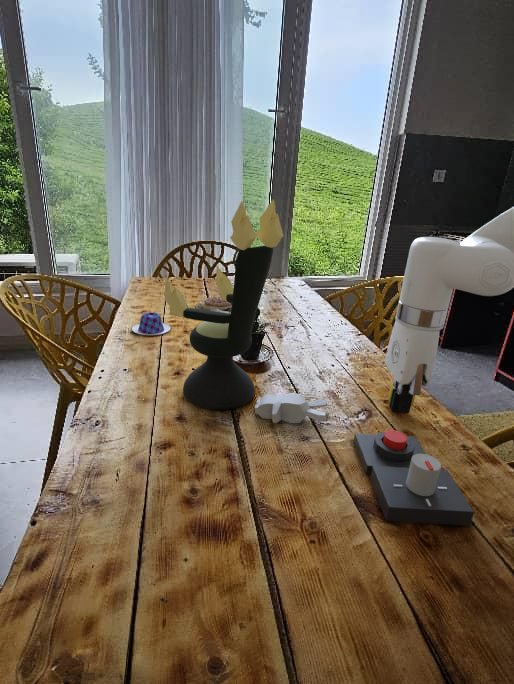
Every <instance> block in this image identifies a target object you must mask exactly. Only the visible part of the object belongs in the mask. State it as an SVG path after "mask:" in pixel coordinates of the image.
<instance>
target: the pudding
mask: <svg viewBox="0 0 514 684" xmlns="http://www.w3.org/2000/svg"><path fill="white" fill-rule="evenodd" d="M131 330H132V332H133V333H135V334H138V335H142V336H158V335H163V334H166V333H168V332H169V331H170V330H171V326H170V325H169V324H167V323H165V322H163V320H162V317H161V314H160V313H158V312H157V313H156V312H153V311H152V312H150V311H149V312H144V313H142V315H141V316H140V320H139V323H137V324H134V325H133V326H132V327H131Z"/></svg>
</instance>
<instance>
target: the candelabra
mask: <svg viewBox="0 0 514 684" xmlns="http://www.w3.org/2000/svg"><path fill="white" fill-rule="evenodd" d="M258 220H259V224H260V227H259V229H258V230H257V231H256V232H255V230H254V228H253V225H252V224H253V223H252V222H251V220H250V217H249V216H248V215H247V213H246V207H245V205H244V202H243V200H241V201H240V203H239V205H238V207H237V209H236V211H235V213H234V215H233V217H232V220H231V227H232V235H230V236H229V238H230V241H231V242H232V244H234V246H235V247H236V248H237V249H239V250H238V252H237V254H236V258H235V266H234V267H235V269H234V280H233V283H232V281H231V279H229V277H227V275H226V274H225V273H224V272H223V271H222V270H221V268H220V267H219V266H218V265H216V274H215V275H216V277H215V285H216V287H217V289H218V292H219V297H220V298H221V299H223V300H226V301H227V302H229V303H231V304H232V308H230V312H229V313H223V312H216V311H210V310H203V309H196V308H195V307H189V306H188V303H187V301H186V299H185V297H184V294H183V292H181V291H180V289H178V288H177V286H173V284H172V283H171V282H170V280H169V279H167V278H165V280H164V301H165V302H166V304H167V305H168V306H169V315H170V316H173V317H179V318H181V317H183V318H184V319H187V320H192V321H193V320H194V321H200V322H201V323H199V324H198V325H196V326H195V327H194V328H193V329H192V330H191V332H190V334H189V343H190V345H191V348H193V350H195V351H196V352H197V353H199V354H201V355H204V356H206V360H205V361H204V362H203V363H202V364H201V365H199V366H197V367H196V368H195V369H194V370H193V371H192V372H191V373H189V375H188V376H187V377H186V378H185V380H184V383H183V386H182V392H183V395H184V396H185V398H186V399H187V400H188V401H189V402H191V403H192V404H193V405H195V406H198V407H200V408H202V409H207V410H211V411H227V410H235V409H237V408H241V407H243V406H244V405H246V404H247V403H249V402H250V401H251V400H252V399H253V398H254V396H255V393H256V390H255V384H254V382H253V380H252V378H251V377H250V375H249V374H248V373H247V372H246V371H245V370H244V369H243V368H241V367H240V366H239V365H238V364H236V363H235V361H234V357H238V356H240V355H242V354H244V353H246V352H247V351H248V350H249V349H250V347H251V346H252V343H253V337H252V333H253V329H254V324H255V321H256V316H257V311H258V308H259V305H260V301H261V298H262V295H263V290H264V288H265V284H266V281H267V278H268V275H269V271H270V268H271V263H272V260H273V254H274V248H276V247H277V246H278V244H279V243H280V242H281V240H283V238H284V237H285V236H284V231H283V227H282V224H281V221H280V217H279V213H276V203H275V200H274V199H272V200H271V201H270V203H269V204H268V206H267V207H266V208H265V211H264V212H263V213H262V214H261V215H260V217H259V219H258ZM256 239H258V240H259V242H260V243H261V244H263V245H260V246H253V243H254V241H255V240H256ZM252 246H253V247H252Z"/></svg>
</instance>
